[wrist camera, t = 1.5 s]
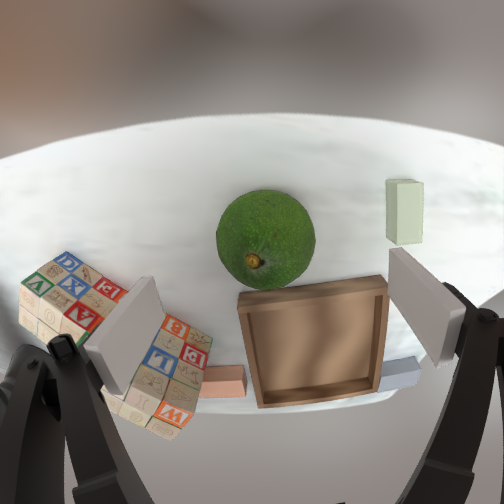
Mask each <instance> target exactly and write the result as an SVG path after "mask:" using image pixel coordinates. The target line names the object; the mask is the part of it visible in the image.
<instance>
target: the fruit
mask: <svg viewBox="0 0 504 504" xmlns="http://www.w3.org/2000/svg"><path fill="white" fill-rule="evenodd" d="M216 241H217V248H218V254H219V257H220V259H221V261H222V263H223V264H224V266H225V267H226V269H227V270H228V271H229V272H230V273H231V274H232V275H233V276H234V277H235V278H236V279H237V280H238V281H239V282H241V283H243V284H245V285H246V286H249V287H252V288H255V289H262V290H270V289H274V288H279V287H283V286H285V285H287V284H289V283H290V282H292V281H293V280H295V279H296V278H298V277H299V276H300V275H301V274H302V273H303V272H304V271H305V270H306V269H307V267H308V265H309V263H310V261H311V258H312V256H313V253H314V248H315V242H316V240H315V233H314V228H313V224H312V222H311V220H310V217H309V215H308V213H307V211H306V210H305V209H304V207H303V206H302V205H301V204H300V203H299V202H298V201H297V200H295V199H294V198H292V197H290V196H289V195H287V194H284V193H281V192H278V191H271V190H260V191H254V192H250V193H247V194H245V195H242V196H240V197H239V198H237V199H236V200H235V201H234V202H233V203H231V204H230V205H229V206H228V208H227V209H226V211H225V212H224V213H223V215H222V217H221V220H220V223H219V225H218V228H217V231H216Z"/></svg>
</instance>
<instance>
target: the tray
mask: <svg viewBox="0 0 504 504" xmlns="http://www.w3.org/2000/svg"><path fill="white" fill-rule="evenodd" d="M387 292H388V283H387V282H386V280H385V279H384V278H383V277H382V276H381V275H375V276H368V277H362V278H355V279H348V280H341V281H333V282H326V283H318V284H311V285H303V286H295V287H287V288H278V289H270V290H261V291H252V292H243V293H239V299H238V305H237V309H238V314H239V319H240V324H241V329H242V334H243V339H244V344H245V349H246V354H247V359H248V363H249V368H250V373H251V378H252V382H253V387H254V392H255V396H256V401H257V406H258V409H260V408H273V407H285V406H294V405H303V404H311V403H318V402H325V401H332V400H338V399H344V398H349V397H354V396H360V395H365V394H369V393H374V392H377V391H378V386H379V380H380V375H381V368H382V362H383V355H384V348H385V340H386V332H387V322H388V312H389V300H390V297H389V295H388V294H387Z"/></svg>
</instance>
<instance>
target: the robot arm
mask: <svg viewBox="0 0 504 504" xmlns="http://www.w3.org/2000/svg"><path fill="white" fill-rule="evenodd" d="M387 294H388V295H389V297H390V298H391V300H392V301H393V303H394V304H395V305H396V307H397V308H398V310H399V311H400V313H401V314H402V316H403V317H404V318H405V320H406V321H407V323H408V324H409V326H410V327H411V329H412V330H413V332H414V333H415V335H416V336H417V338H418V340H419V341H420V343H421V344H422V346H423V347H424V349H425V350H426V352H427V354H428V355H429V357H430V358H431V360H432V362H433V363H434V365H435V366H436V368H439V367H442V366H446V365H449V364H451V363H452V360H453V357H454V353H456V354H457V356H458V357H459V360H458V363H457V366H456V369H455V372H454V375H453V380H452V383H451V386H450V389H449V392H448V395H447V398H446V400H445V403H444V406H443V409H442V411H441V414H440V417H439V419H438V421H437V424H436V426H435V429H434V431H433V433H432V436H431V438H430V440H429V442H428V445H427V447H426V449H425V451H424V453H423V455H422V457H421V459H420V461H419V463H418V465H417V467H416V469H415V471H414V473H413V474H412V476H411V478H410V480H409V482H408V483H407V485H406V487H405V489H404V490H403V492H402V494H401V495H400V497H399V499H398V500H397V502H396V503H395V504H464V503H465V501H466V499H467V496H468V494H469V491H470V489H471V486H472V483H473V480H474V473H473V472H472V467H473V465H474V462H475V458H476V455H477V452H478V449H479V446H480V442H481V439H482V435H483V431H484V427H485V423H486V419H487V415H488V409H489V405H490V400H491V395H492V389H493V383H494V376H495V369H497V376H498V381H499V389H500V397H501V407H502V420H503V446H504V318H499V316H498V315H497V314H496V313H495V312H494V311H492V310H490V309H486V308H479V309H477V308H476V307H475V306H474V305H473V304H472V303H471V302H470V301H469V300H468V299H467V298H466V297H464V295H463V294H462V293H460V292H459V291H458V290H457V289H456V288H455V287H454V286H452V285H450V284H448V283H446V282H444V283H441V282H440V281H439V280H438V279H437V278H435V277H434V276H433V275H432V274H431V273H430V272H429V271H428V270H427V269H426V268H424V267H423V266H422V265H421V264H420V263H419V262H418V261H417V260H416V259H414V258H413V257H412V256H411V255H410V254H409V253H407V252H406V251H405V250H404V249H403V248H402V247H401V248H393V249H389V274H388V292H387ZM164 320H165V314H164V311H163V308H162V305H161V302H160V298H159V295H158V292H157V288H156V285H155V281H154V278H153V276H150V277H141V278H140V280H139V281H138V282H137V283H136V284H135V285H134V286H133V287H132V289H131V290H130V291H129V292H128V293H127V294H126V295H125V296H124V298H123V299H122V300H121V301H120V302H119V303H118V304H117V306H116V307H115V308H114V309H113V310H112V311H111V313H110V314H109V315H108V316H107V317H106V318H105V319H104V320H103V321H101V322H100V323H99V324H97V325H96V326H95V327H94V329H93V330H92V332H90V333H89V335H88V337H86V338H85V339H84V341H83V342H82V343H81V344H80V345H79V347H78V348H77V346H76V344H75V342H74V340H73V338H72V336H71V334H68V333H66V334H60V335H58V336H56V337H54V338H52V339H51V340H50V341H49V342H48V343H47V349H48V350H49V352H50V354H51V356H52V357H51V356H50V355H48V354H47V353H46V352H44V351H42V350H41V349H39V348H37V347H34V346H31V345H23V346H21V347H20V348H19V349H18V350H17V351H16V352H15V353H14V355H13V357H12V360H11V362H10V364H9V367H8V370H7V372H6V375H5V378H4V380H3V381H2V383H1V384H0V504H64V449H65V436H66V441H67V446H68V450H69V454H70V458H71V462H72V465H73V469H74V472H75V476H76V479H77V483H78V487H75V488H73V490H72V493H73V498H74V501H75V504H154V502H153V501H152V498H151V497H150V495H149V493H148V492H147V490H146V488H145V486H144V484H143V483H142V481H141V479H140V477H139V475H138V473H137V471H136V469H135V467H134V465H133V463H132V462H131V460H130V457H129V455H128V453H127V451H126V449H125V447H124V444H123V442H122V440H121V438H120V436H119V433H118V431H117V429H116V426H115V424H114V422H113V419H112V417H111V414H110V411H109V409H108V406H107V403H106V401H105V398H104V395H103V394H102V392H101V388H102V387H103V385H104V386H105V387H106V389H107V391H108V393H109V394H114V395H122V396H123V395H124V393H125V391H126V389H127V387H128V385H129V383H130V382H131V380H132V378H133V376H134V374H135V372H136V370H137V368H138V367H139V365H140V363H141V361H142V359H143V357H144V356H145V354H146V352H147V350H148V348H149V346H150V345H151V343H152V341H153V339H154V337H155V336H156V334H157V332H158V330H159V328H160V327H161V325H162V323H163V321H164ZM503 449H504V448H503ZM503 454H504V453H503ZM503 459H504V455H503ZM503 462H504V460H503ZM338 504H345V502H344V503H338ZM500 504H504V463H503V481H502V493H501V503H500Z"/></svg>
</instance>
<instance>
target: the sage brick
mask: <svg viewBox="0 0 504 504" xmlns="http://www.w3.org/2000/svg"><path fill="white" fill-rule="evenodd" d="M423 207H424V183H421V182H418V181H414V180H386V237H387V238H388V239H389V240H390V241H392V242H393V243H394V244H395V245H396V246H397V245H406V244H416V243H422V233H423Z"/></svg>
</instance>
